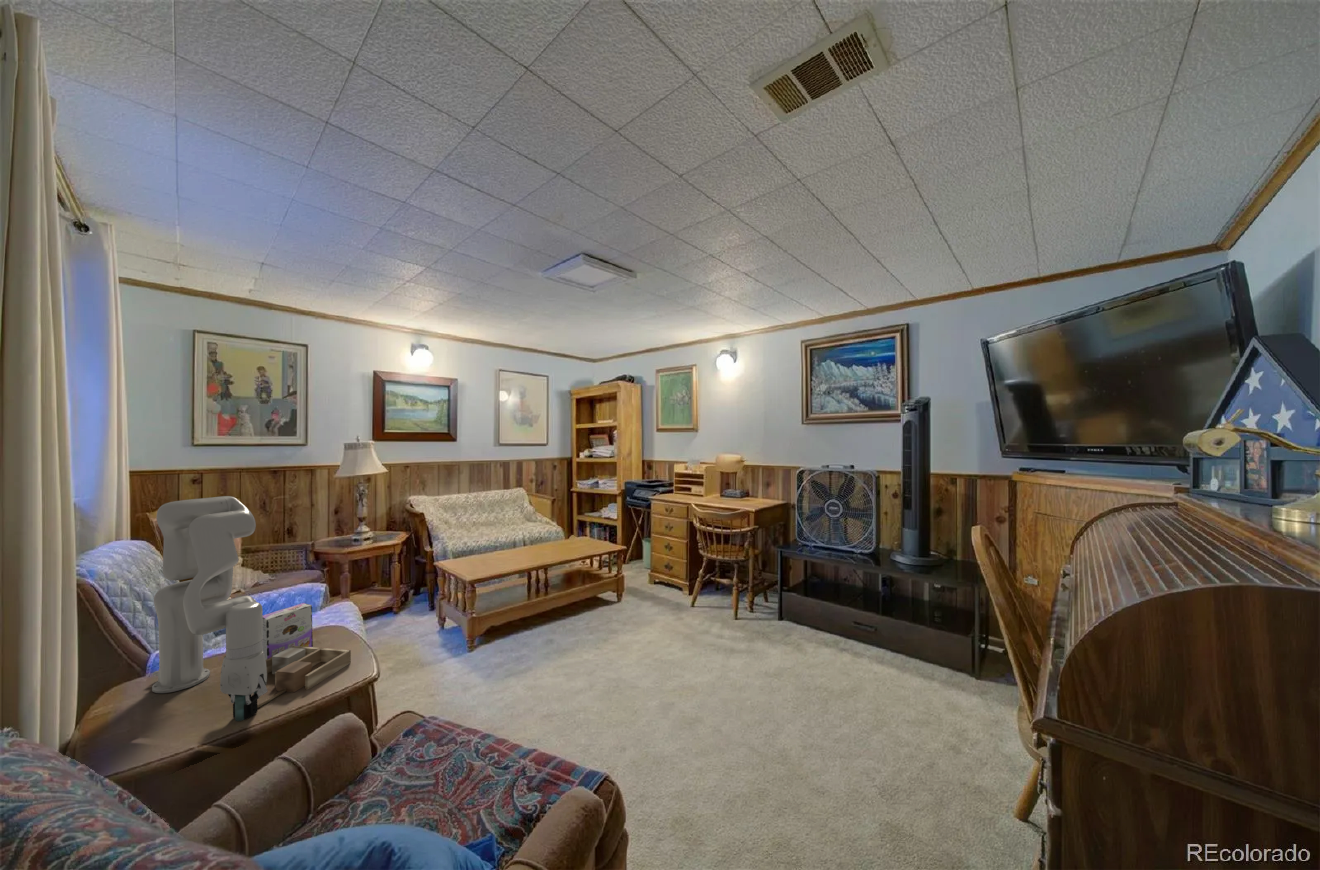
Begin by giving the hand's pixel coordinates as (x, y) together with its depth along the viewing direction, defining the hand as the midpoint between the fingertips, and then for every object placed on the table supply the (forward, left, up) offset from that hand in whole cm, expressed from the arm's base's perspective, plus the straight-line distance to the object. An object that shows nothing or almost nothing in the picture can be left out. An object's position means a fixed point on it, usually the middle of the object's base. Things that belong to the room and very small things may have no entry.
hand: (245, 714), depth 125 cm
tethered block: (0, +8, -1) cm, 8 cm away
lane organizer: (-5, +21, -1) cm, 22 cm away
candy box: (-21, +31, -1) cm, 38 cm away
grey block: (-10, +22, -1) cm, 25 cm away
